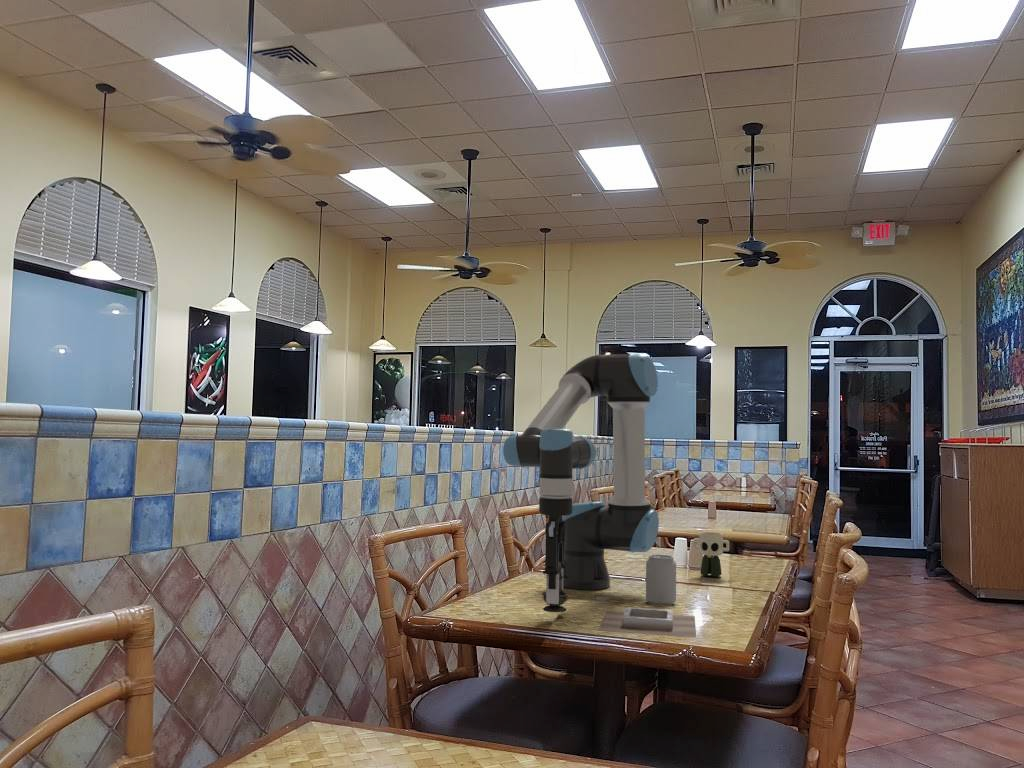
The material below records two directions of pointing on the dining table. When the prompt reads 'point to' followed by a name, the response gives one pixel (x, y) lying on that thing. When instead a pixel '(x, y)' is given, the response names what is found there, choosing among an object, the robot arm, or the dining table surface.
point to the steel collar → (648, 618)
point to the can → (661, 580)
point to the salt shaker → (561, 596)
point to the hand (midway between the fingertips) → (554, 600)
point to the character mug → (711, 552)
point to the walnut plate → (680, 628)
